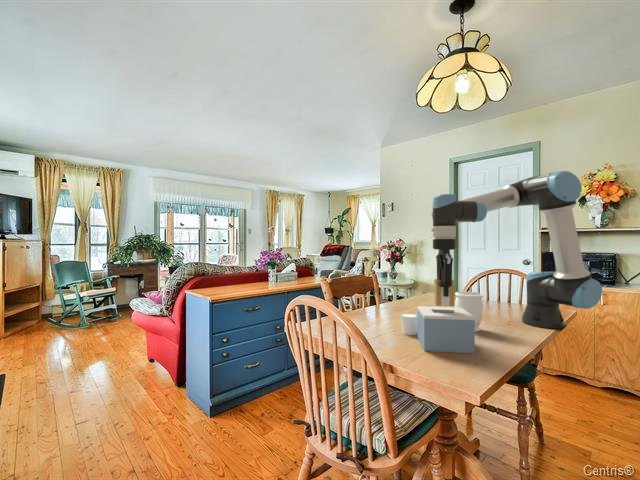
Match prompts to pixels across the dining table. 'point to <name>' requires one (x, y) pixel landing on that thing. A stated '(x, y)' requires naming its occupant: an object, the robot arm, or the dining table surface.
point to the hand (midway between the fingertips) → (443, 304)
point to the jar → (471, 305)
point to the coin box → (446, 329)
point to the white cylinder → (409, 324)
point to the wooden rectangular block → (438, 292)
